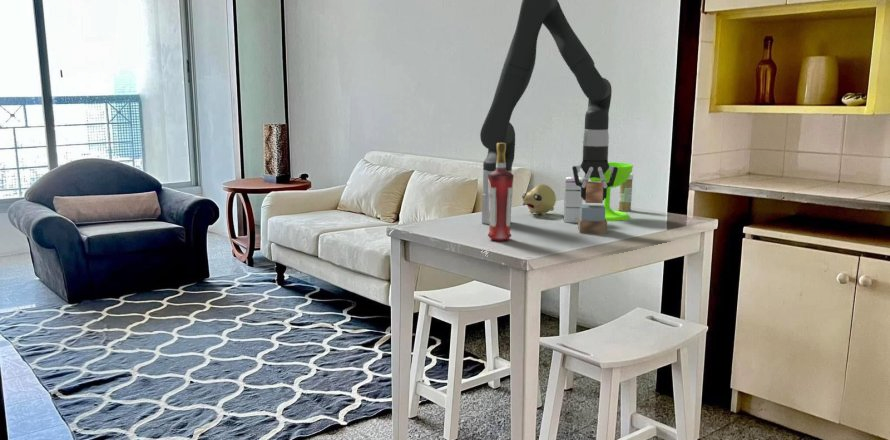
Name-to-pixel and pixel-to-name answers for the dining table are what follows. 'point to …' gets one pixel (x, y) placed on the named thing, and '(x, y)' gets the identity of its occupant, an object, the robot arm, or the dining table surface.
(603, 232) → the walnut slab
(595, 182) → the terracotta cube
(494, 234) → the liquor
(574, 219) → the syrup box
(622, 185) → the sprinkles bottle
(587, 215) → the slate block
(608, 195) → the wineglass
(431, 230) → the dining table surface
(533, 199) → the beige round toy
